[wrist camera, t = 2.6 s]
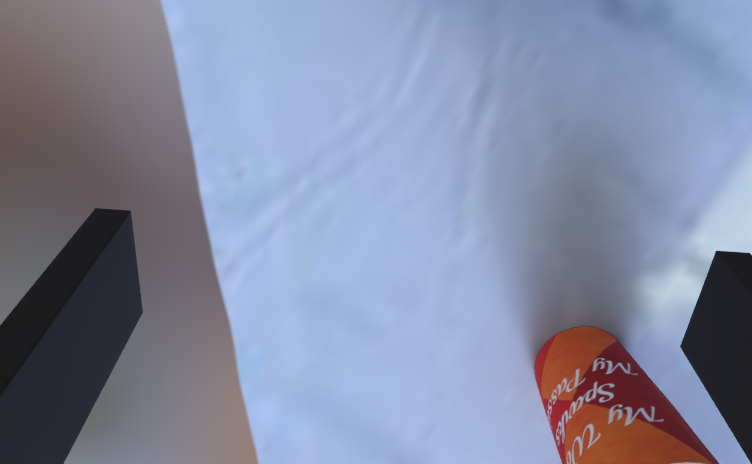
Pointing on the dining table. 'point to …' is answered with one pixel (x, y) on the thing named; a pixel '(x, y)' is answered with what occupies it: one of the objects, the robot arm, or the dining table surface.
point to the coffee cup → (609, 405)
